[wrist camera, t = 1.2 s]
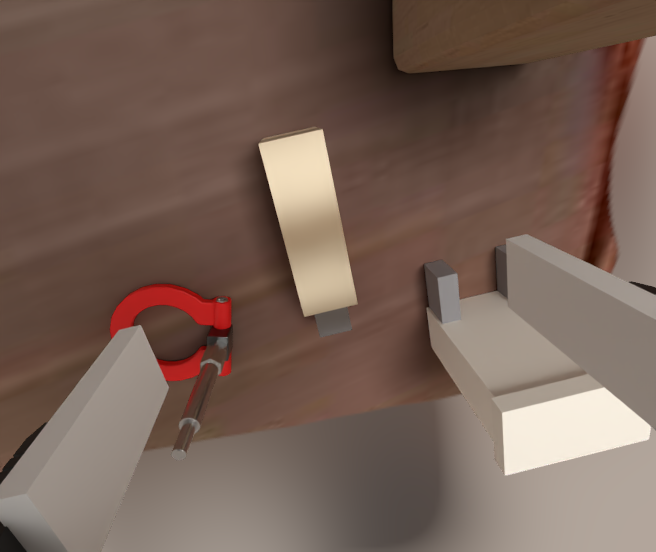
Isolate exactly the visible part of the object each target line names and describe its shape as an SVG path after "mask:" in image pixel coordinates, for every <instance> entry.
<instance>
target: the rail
mask: <svg viewBox="0 0 656 552" xmlns="http://www.w3.org/2000/svg"><path fill="white" fill-rule="evenodd" d="M259 148H260V152H261V156H262V160H263V163H264V167H265V171H266V175H267V178H268V182H269V186H270V190H271V193H272V197H273V201H274V205H275V209H276V212H277V216H278V220H279V224H280V227H281V231H282V235H283V239H284V243H285V246H286V250H287V254H288V258H289V261H290V265H291V269H292V273H293V276H294V280H295V284H296V288H297V292H298V295H299V299H300V303H301V307H302V310H303V314H304V317H306V316H310V315H315V319H316V323H317V327H318V331H319V335H320V337H324V336H328V335H333V334H337V333H341V332H345V331H349V330H352V327H351V323H350V318H349V313H348V309H347V307H348V306H352V305H356V304H358V303H357V298H356V293H355V288H354V283H353V278H352V273H351V268H350V263H349V258H348V253H347V248H346V243H345V239H344V234H343V229H342V224H341V219H340V214H339V209H338V204H337V199H336V194H335V189H334V184H333V179H332V174H331V169H330V164H329V159H328V154H327V149H326V144H325V139H324V134H323V129H320V128H317V127H311V128H306V129H302V130H297V131H293V132H289V133H284V134H280V135H275V136H271V137H267V138H263V139H262V140H261V141H260V142H259Z"/></svg>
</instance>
